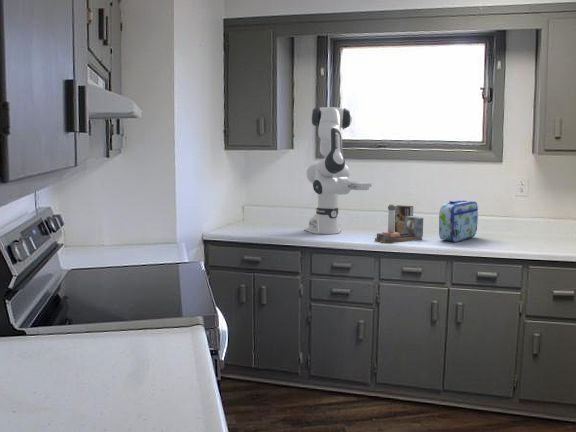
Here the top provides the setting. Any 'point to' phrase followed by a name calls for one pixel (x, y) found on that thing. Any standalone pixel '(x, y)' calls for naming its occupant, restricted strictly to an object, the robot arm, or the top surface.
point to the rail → (405, 231)
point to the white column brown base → (391, 222)
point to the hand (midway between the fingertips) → (364, 184)
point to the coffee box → (401, 217)
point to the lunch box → (458, 220)
